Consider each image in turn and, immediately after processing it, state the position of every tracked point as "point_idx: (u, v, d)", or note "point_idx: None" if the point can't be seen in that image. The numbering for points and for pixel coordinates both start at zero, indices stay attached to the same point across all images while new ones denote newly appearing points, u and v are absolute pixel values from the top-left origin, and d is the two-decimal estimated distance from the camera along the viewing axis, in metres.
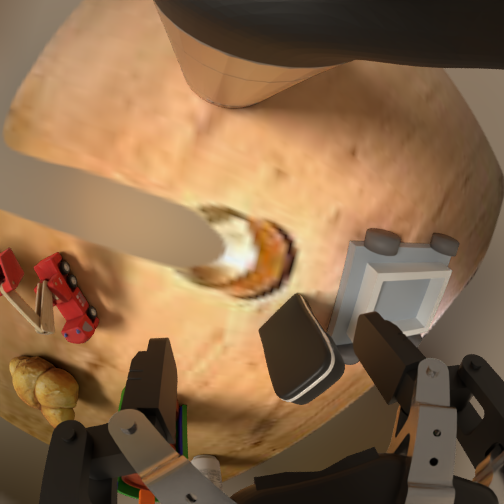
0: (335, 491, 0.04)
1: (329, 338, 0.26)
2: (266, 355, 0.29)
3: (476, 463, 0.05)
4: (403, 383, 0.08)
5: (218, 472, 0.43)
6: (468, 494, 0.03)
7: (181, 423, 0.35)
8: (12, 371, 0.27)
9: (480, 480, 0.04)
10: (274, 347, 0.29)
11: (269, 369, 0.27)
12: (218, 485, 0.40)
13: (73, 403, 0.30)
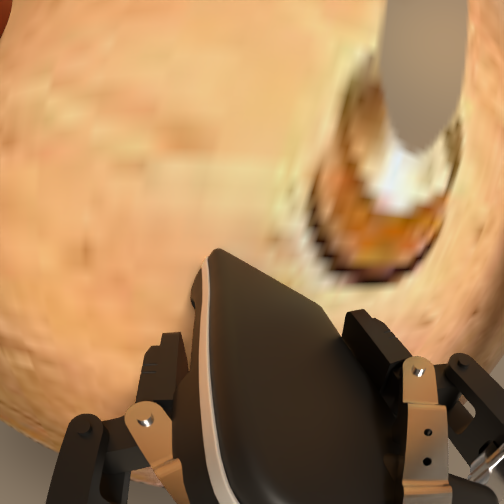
0: None
1: None
2: (232, 305, 0.08)
3: (470, 461, 0.05)
4: (389, 381, 0.08)
5: None
6: (468, 494, 0.03)
7: None
8: None
9: (476, 478, 0.04)
10: (266, 319, 0.09)
11: (237, 348, 0.06)
12: None
13: None
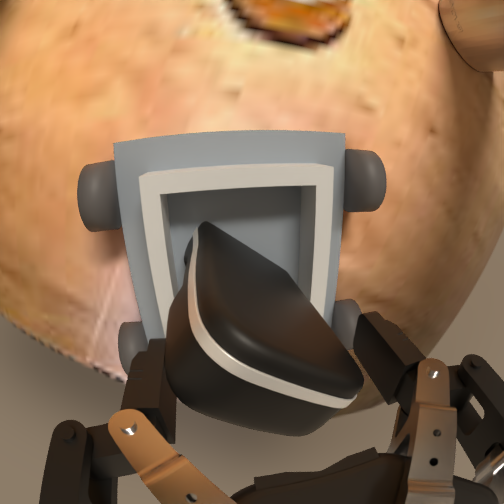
0: (335, 491, 0.04)
1: None
2: (212, 245, 0.12)
3: (476, 463, 0.05)
4: (403, 383, 0.08)
5: None
6: (468, 494, 0.03)
7: None
8: None
9: (480, 480, 0.04)
10: (236, 258, 0.13)
11: (213, 261, 0.10)
12: None
13: None
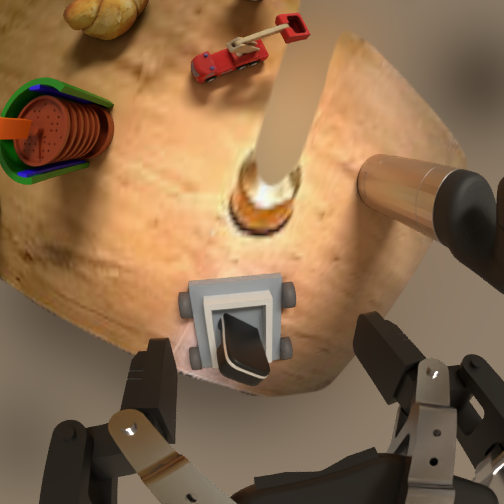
0: (335, 491, 0.04)
1: None
2: (229, 330, 0.39)
3: (476, 463, 0.05)
4: (403, 383, 0.08)
5: None
6: (468, 494, 0.03)
7: (76, 163, 0.30)
8: None
9: (480, 480, 0.04)
10: (236, 333, 0.40)
11: (230, 339, 0.37)
12: None
13: (94, 31, 0.23)
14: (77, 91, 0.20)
